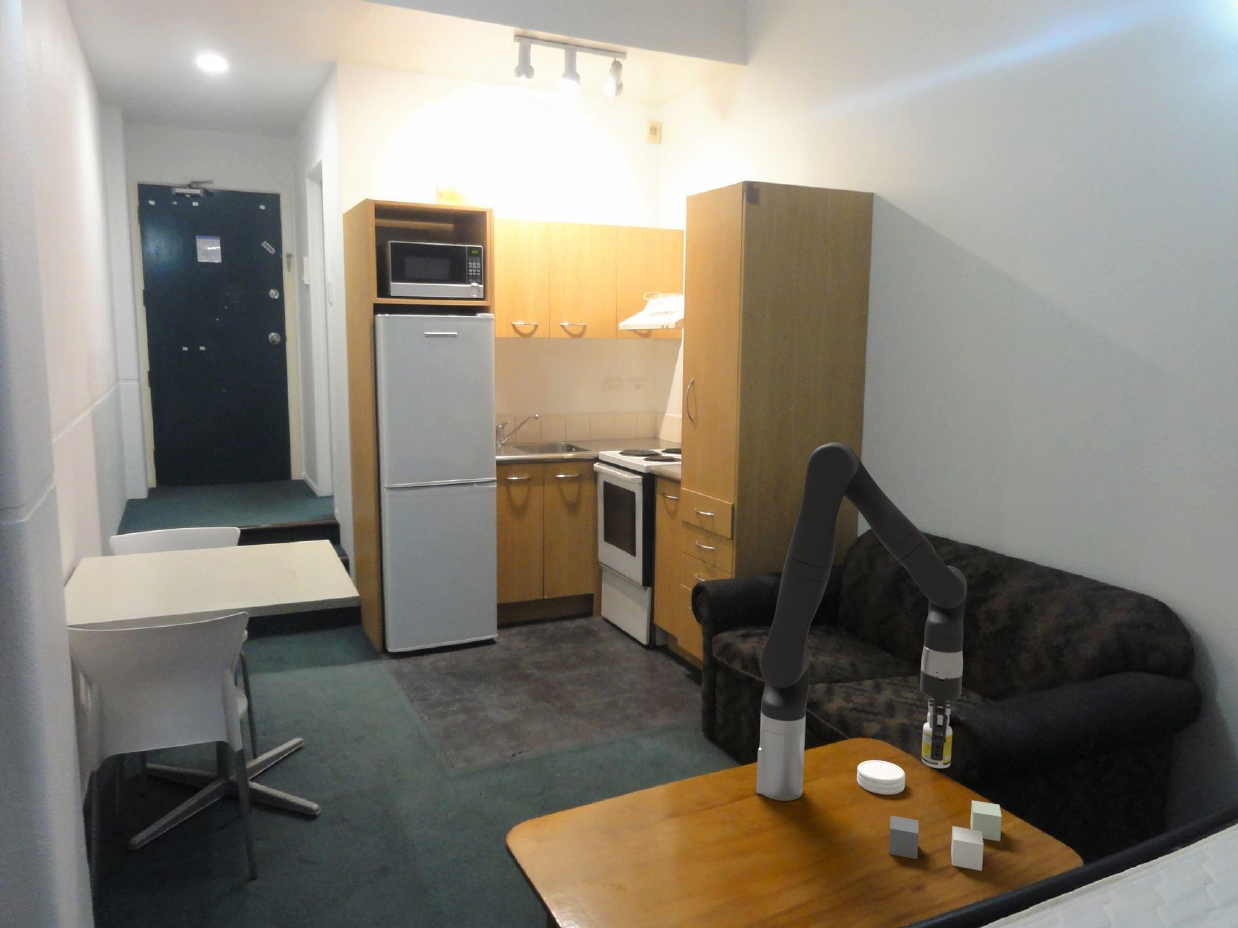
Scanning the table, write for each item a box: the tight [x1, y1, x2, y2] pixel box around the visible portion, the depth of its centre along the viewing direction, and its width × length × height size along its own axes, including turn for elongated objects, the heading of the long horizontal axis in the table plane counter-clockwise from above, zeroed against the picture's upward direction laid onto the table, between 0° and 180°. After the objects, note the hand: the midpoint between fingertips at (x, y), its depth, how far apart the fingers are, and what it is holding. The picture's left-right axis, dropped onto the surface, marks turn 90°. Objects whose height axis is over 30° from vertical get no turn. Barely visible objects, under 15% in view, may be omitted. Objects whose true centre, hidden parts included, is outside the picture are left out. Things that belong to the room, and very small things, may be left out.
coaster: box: [856, 759, 906, 796], centre depth 189 cm, size 10×10×4 cm
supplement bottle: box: [921, 711, 953, 769], centre depth 171 cm, size 5×5×10 cm
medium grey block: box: [888, 815, 920, 860], centre depth 163 cm, size 5×5×5 cm
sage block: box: [969, 800, 1003, 842], centre depth 170 cm, size 5×5×5 cm
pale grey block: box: [950, 825, 984, 871], centre depth 160 cm, size 5×5×5 cm
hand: (936, 752), depth 171 cm, fingers closed on supplement bottle, 5 cm apart
